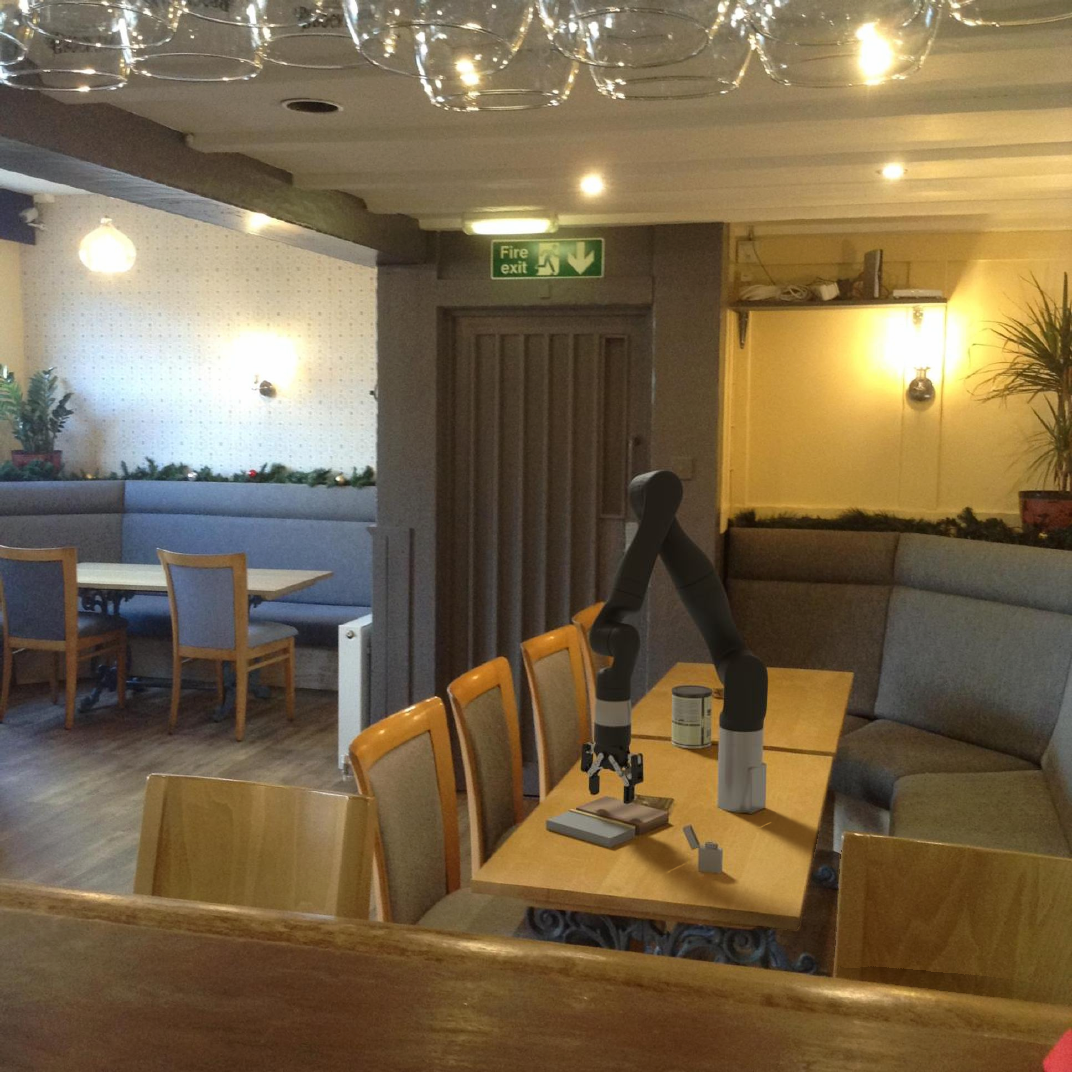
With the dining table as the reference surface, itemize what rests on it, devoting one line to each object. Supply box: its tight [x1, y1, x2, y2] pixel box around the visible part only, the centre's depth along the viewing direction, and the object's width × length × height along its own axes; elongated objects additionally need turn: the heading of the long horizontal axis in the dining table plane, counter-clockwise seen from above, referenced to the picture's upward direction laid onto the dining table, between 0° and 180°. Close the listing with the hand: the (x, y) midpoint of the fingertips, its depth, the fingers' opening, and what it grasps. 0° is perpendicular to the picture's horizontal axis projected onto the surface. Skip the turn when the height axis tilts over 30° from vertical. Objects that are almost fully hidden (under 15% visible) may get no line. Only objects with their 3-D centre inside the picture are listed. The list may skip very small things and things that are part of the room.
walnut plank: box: [575, 795, 670, 836], centre depth 240 cm, size 16×10×2 cm, turn 49°
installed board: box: [545, 808, 636, 849], centre depth 232 cm, size 16×8×2 cm, turn 49°
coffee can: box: [670, 684, 714, 750], centre depth 300 cm, size 10×10×14 cm
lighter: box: [682, 823, 724, 875], centre depth 213 cm, size 7×2×8 cm, turn 71°
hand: (611, 798), depth 239 cm, fingers open, 8 cm apart
